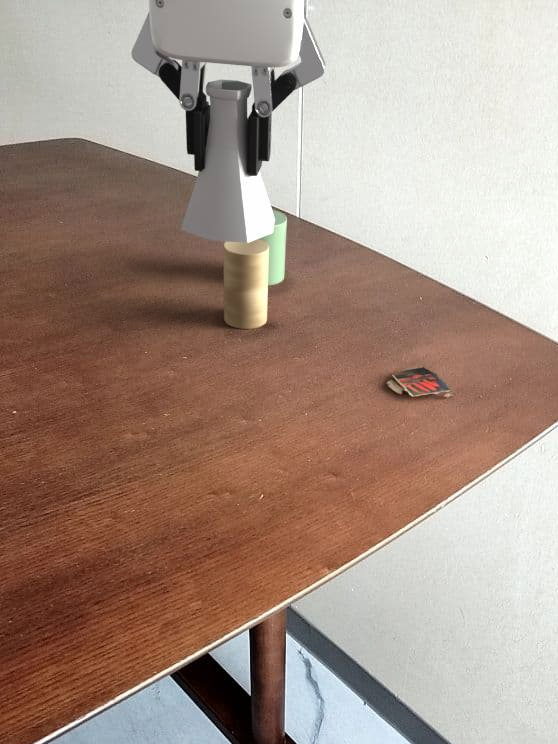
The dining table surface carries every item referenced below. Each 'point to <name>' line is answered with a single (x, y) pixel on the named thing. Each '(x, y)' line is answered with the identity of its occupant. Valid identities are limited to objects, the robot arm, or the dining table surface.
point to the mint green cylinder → (277, 249)
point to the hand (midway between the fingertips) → (228, 165)
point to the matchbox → (419, 382)
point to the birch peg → (246, 283)
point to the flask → (228, 174)
